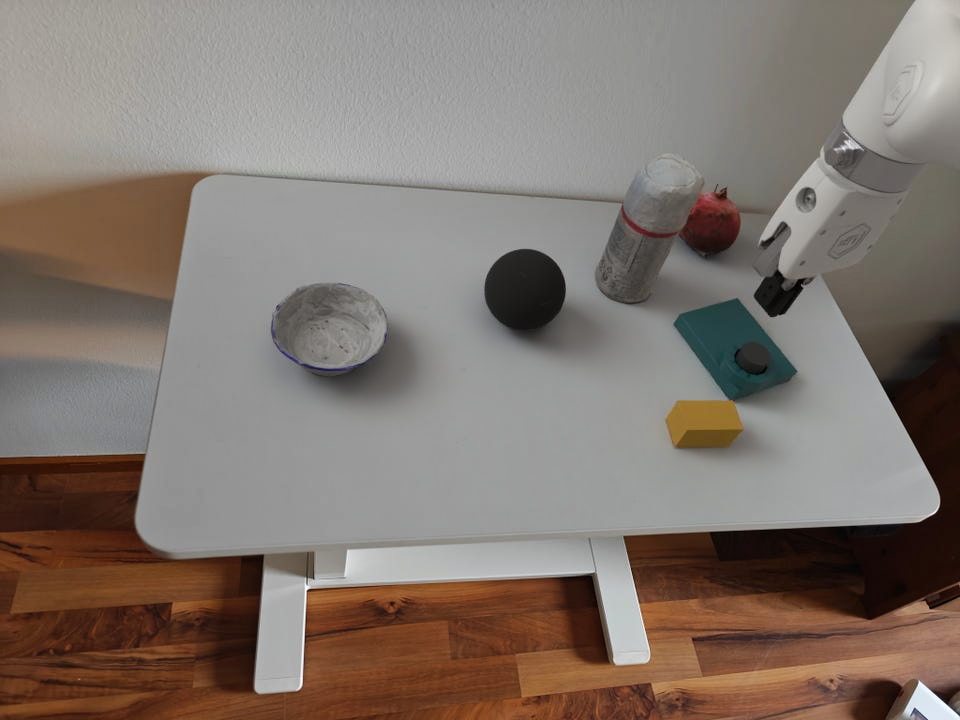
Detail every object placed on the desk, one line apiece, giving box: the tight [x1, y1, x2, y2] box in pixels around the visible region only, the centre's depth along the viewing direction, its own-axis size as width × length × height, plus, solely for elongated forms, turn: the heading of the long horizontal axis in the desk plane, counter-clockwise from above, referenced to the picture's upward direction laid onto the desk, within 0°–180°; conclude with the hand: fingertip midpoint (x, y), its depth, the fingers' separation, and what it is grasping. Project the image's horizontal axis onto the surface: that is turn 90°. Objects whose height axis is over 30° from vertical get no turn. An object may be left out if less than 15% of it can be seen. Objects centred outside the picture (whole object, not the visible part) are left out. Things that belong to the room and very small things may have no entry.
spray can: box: [594, 152, 705, 304], centre depth 92 cm, size 8×8×20 cm
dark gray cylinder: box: [736, 342, 771, 375], centre depth 89 cm, size 4×4×2 cm
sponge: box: [665, 399, 745, 449], centre depth 85 cm, size 7×4×4 cm, turn 96°
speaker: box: [483, 248, 567, 332], centre depth 89 cm, size 10×10×10 cm
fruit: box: [678, 183, 742, 259], centre depth 104 cm, size 9×10×10 cm
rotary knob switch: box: [673, 297, 798, 401], centre depth 94 cm, size 14×10×4 cm
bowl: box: [270, 282, 389, 377], centre depth 84 cm, size 13×13×5 cm
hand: (768, 305), depth 73 cm, fingers closed
